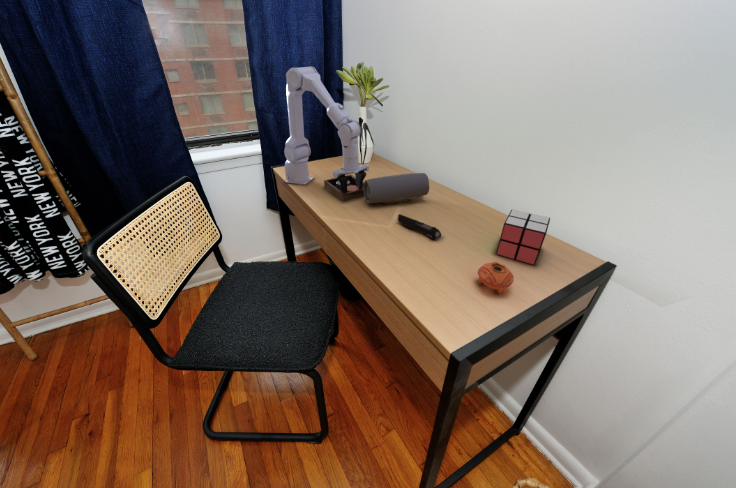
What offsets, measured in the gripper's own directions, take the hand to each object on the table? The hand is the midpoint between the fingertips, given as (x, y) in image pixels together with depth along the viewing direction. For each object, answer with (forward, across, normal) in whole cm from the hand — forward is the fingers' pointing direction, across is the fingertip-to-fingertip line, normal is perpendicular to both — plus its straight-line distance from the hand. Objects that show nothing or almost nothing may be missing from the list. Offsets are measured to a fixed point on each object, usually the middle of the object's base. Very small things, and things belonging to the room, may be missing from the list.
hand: (351, 191), depth 120 cm
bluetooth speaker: (+2, +11, -14) cm, 18 cm away
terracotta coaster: (+1, 0, 0) cm, 1 cm away
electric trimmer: (+2, +4, -35) cm, 36 cm away
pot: (+2, +2, -66) cm, 66 cm away
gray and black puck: (+1, 0, +7) cm, 7 cm away
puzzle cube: (+2, +20, -60) cm, 63 cm away
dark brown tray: (+1, 0, +4) cm, 4 cm away
